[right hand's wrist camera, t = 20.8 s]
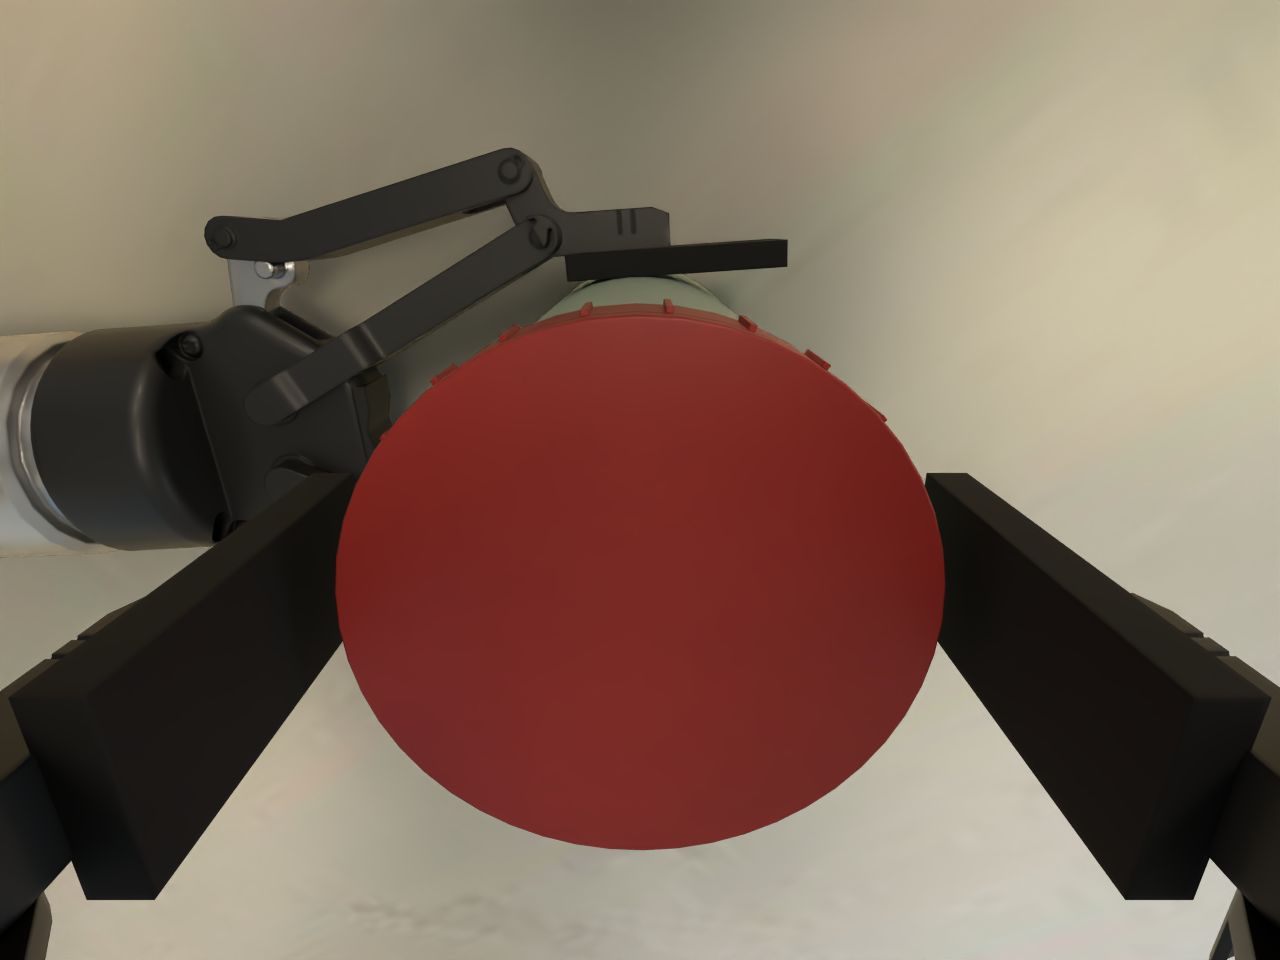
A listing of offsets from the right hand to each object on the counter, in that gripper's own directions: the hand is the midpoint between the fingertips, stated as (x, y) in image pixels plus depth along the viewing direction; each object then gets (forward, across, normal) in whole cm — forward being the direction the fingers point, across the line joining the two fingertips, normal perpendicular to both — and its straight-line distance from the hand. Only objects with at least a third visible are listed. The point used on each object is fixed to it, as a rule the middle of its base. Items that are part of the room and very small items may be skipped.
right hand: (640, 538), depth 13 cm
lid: (-3, 0, 0) cm, 3 cm away
